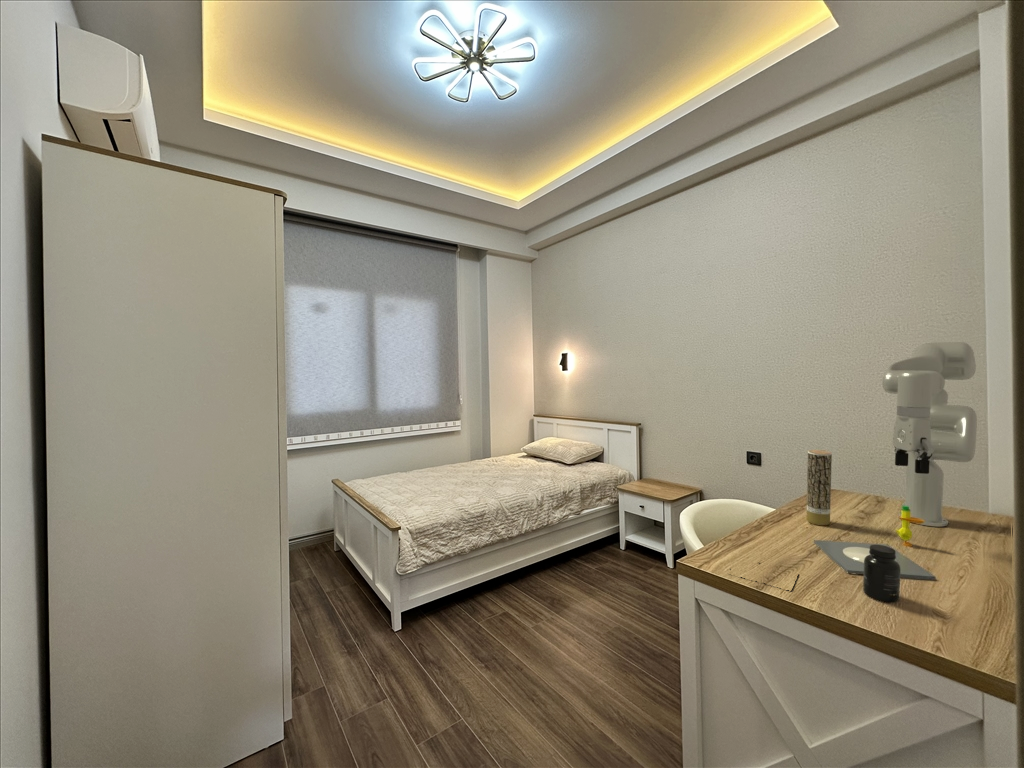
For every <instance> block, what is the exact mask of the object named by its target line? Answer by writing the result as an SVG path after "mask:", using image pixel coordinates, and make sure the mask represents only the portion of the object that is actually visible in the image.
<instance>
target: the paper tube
mask: <svg viewBox="0 0 1024 768" xmlns="http://www.w3.org/2000/svg"><path fill="white" fill-rule="evenodd" d="M832 464H833V463H832V452H831V451H828V450H821V449H820V450H819V449H808V450H807V472H806V473H807V478H806V479H807V480H806V482H807V483H806V521H807V522H808V523H810V524H813V525H817V526H828V525H830V523H831V505H832V504H831V497H832V496H831V494H832Z"/></svg>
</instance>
